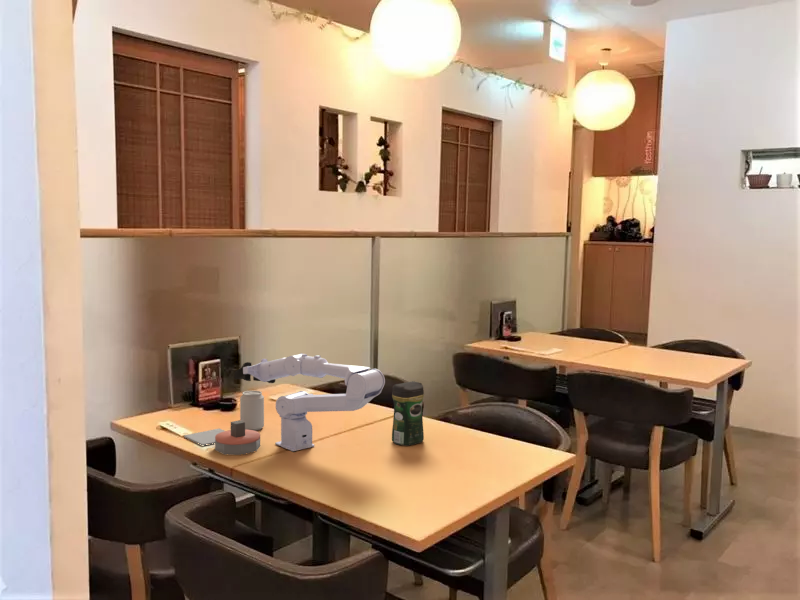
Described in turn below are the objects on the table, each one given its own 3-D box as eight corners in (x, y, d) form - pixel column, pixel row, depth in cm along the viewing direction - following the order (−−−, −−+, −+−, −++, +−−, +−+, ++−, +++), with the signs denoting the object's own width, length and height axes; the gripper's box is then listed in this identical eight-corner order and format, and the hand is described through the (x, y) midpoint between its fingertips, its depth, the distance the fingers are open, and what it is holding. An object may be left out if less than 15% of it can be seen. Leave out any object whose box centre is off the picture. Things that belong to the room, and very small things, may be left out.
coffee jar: (410, 436, 219) (411, 378, 217) (427, 442, 213) (428, 382, 211) (386, 442, 212) (387, 382, 210) (404, 448, 206) (405, 386, 205)
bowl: (266, 448, 204) (266, 438, 203) (230, 457, 195) (230, 447, 195) (245, 439, 212) (245, 429, 212) (209, 447, 204) (209, 437, 204)
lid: (268, 438, 203) (268, 422, 203) (229, 447, 195) (229, 430, 194) (245, 429, 213) (245, 414, 212) (207, 437, 204) (207, 421, 203)
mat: (238, 438, 213) (238, 436, 213) (202, 446, 205) (202, 444, 205) (219, 430, 222) (219, 428, 222) (183, 437, 213) (183, 435, 213)
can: (251, 433, 219) (250, 395, 218) (235, 428, 224) (235, 392, 222) (268, 428, 225) (268, 391, 224) (253, 424, 229) (253, 388, 228)
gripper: (292, 358, 216) (261, 365, 224) (257, 353, 205) (226, 361, 212) (293, 381, 214) (262, 387, 222) (258, 377, 203) (226, 384, 210)
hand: (244, 376), depth 217 cm, fingers open, 7 cm apart
